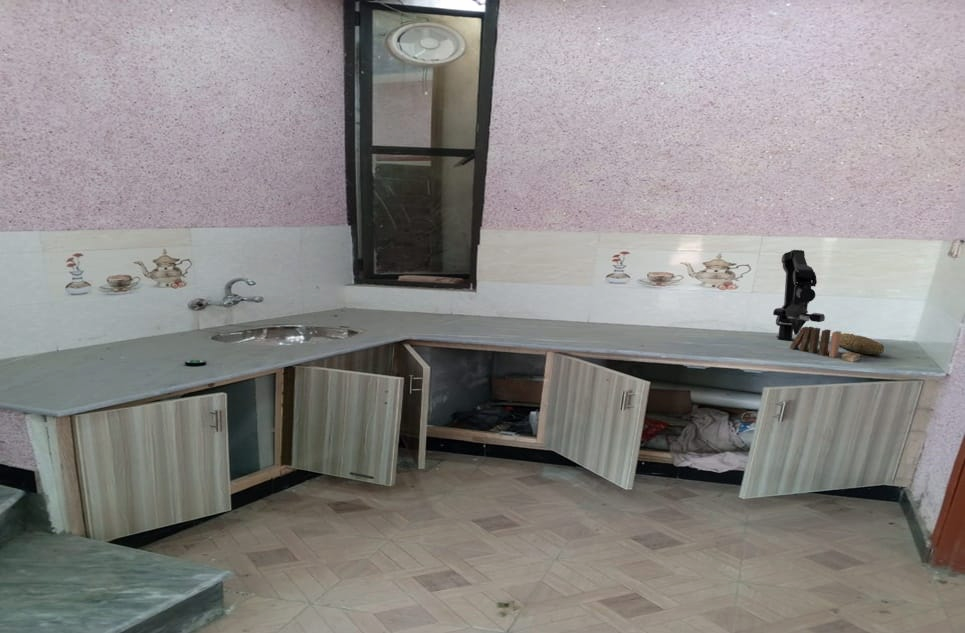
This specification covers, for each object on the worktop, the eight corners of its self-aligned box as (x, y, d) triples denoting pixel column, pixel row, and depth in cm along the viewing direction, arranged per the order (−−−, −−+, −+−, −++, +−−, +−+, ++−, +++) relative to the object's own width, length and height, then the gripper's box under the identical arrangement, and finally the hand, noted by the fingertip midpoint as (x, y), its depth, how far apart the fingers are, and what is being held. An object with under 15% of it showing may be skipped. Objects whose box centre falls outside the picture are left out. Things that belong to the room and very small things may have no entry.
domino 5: (828, 356, 238) (832, 332, 236) (833, 354, 242) (836, 331, 240) (833, 357, 237) (836, 333, 235) (837, 355, 240) (841, 331, 238)
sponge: (830, 348, 259) (853, 349, 239) (834, 331, 259) (857, 331, 239) (861, 355, 258) (886, 357, 238) (865, 338, 257) (891, 339, 238)
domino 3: (808, 352, 244) (811, 329, 242) (813, 350, 247) (816, 327, 245) (812, 353, 243) (815, 329, 241) (817, 351, 246) (820, 328, 244)
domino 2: (798, 350, 247) (806, 327, 244) (803, 348, 250) (810, 326, 247) (802, 351, 246) (810, 329, 243) (807, 349, 249) (814, 327, 246)
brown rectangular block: (789, 347, 250) (801, 327, 245) (794, 345, 253) (806, 326, 248) (792, 349, 249) (805, 329, 244) (797, 347, 252) (810, 328, 247)
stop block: (841, 359, 234) (842, 354, 233) (848, 356, 239) (849, 352, 238) (852, 361, 231) (853, 357, 230) (859, 358, 236) (860, 354, 235)
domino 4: (818, 354, 241) (822, 330, 239) (823, 352, 244) (826, 329, 243) (822, 355, 240) (826, 331, 238) (827, 353, 243) (830, 330, 241)
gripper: (769, 296, 248) (765, 332, 251) (817, 303, 234) (811, 341, 237) (781, 294, 255) (776, 329, 258) (827, 301, 242) (822, 337, 244)
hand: (795, 334), depth 249 cm, fingers closed
